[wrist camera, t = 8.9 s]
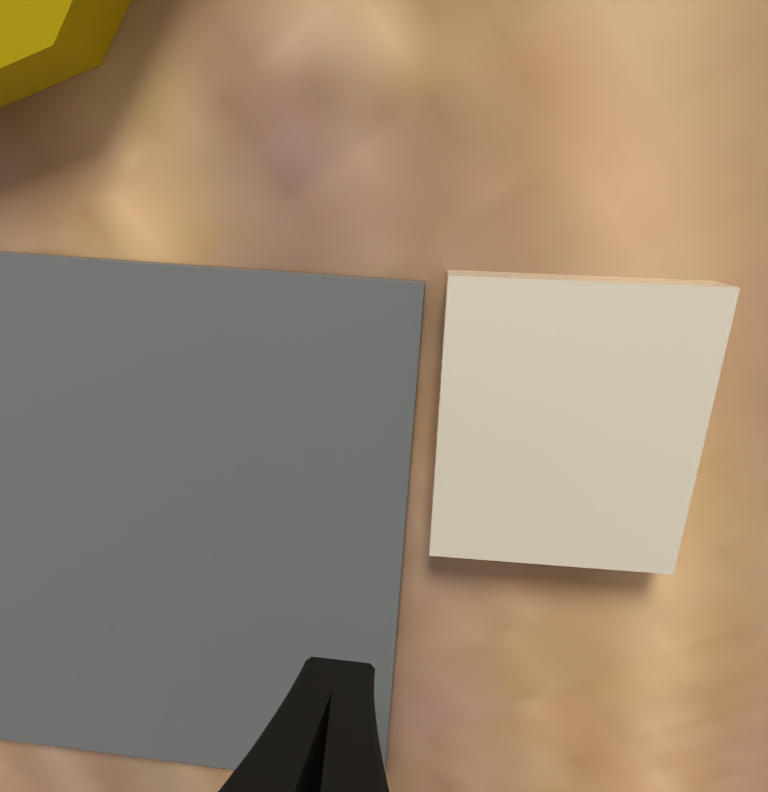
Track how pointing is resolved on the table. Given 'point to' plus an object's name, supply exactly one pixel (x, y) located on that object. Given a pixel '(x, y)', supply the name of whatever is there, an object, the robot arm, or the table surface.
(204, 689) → the mat
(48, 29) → the decorative disc
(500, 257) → the table surface
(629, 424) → the tile
